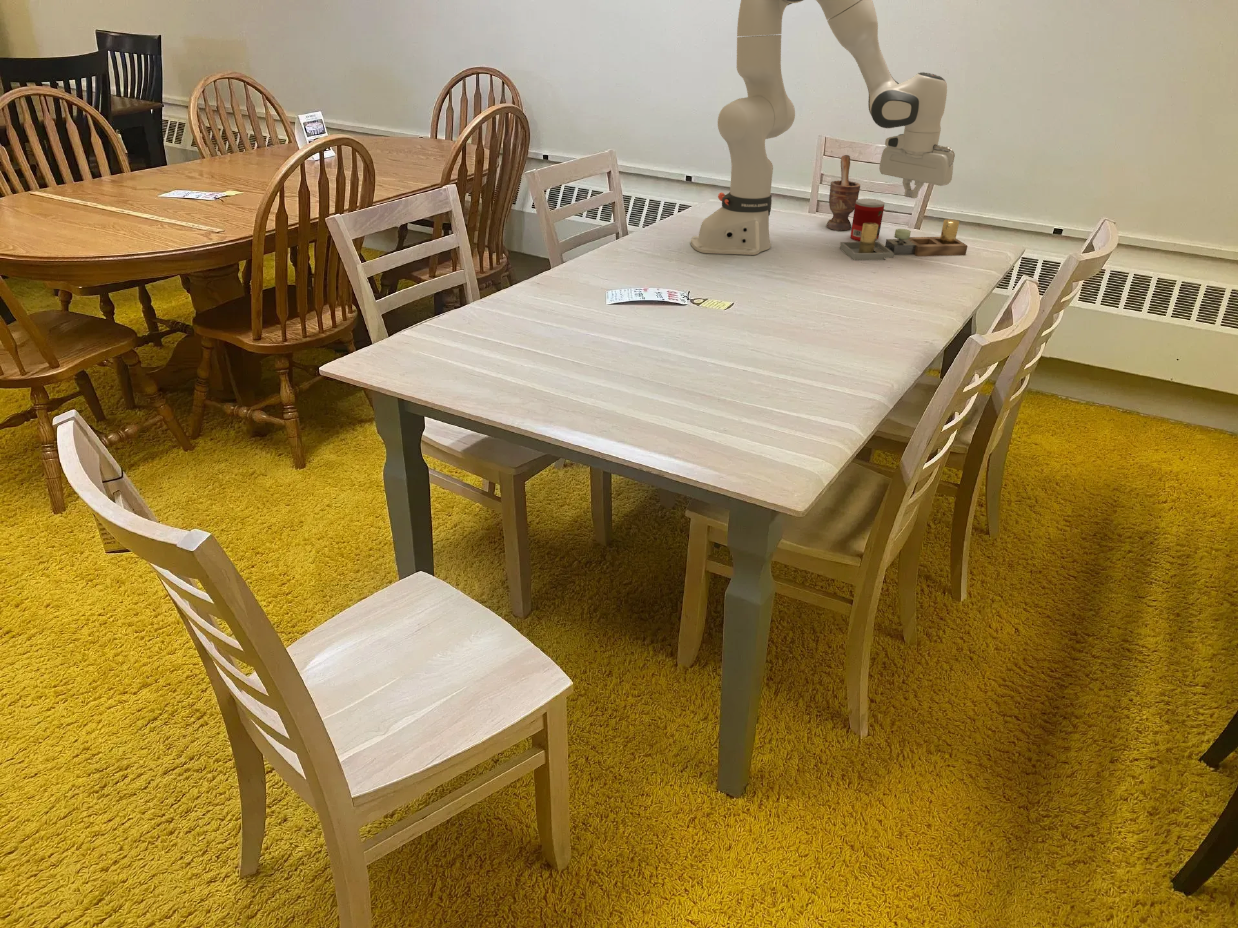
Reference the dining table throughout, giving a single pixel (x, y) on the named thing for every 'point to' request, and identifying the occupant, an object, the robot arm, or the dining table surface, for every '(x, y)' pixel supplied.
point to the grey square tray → (853, 250)
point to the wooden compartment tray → (937, 247)
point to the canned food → (866, 216)
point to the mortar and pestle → (842, 198)
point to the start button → (902, 235)
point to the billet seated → (949, 231)
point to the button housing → (900, 247)
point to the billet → (868, 237)
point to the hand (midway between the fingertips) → (910, 197)
